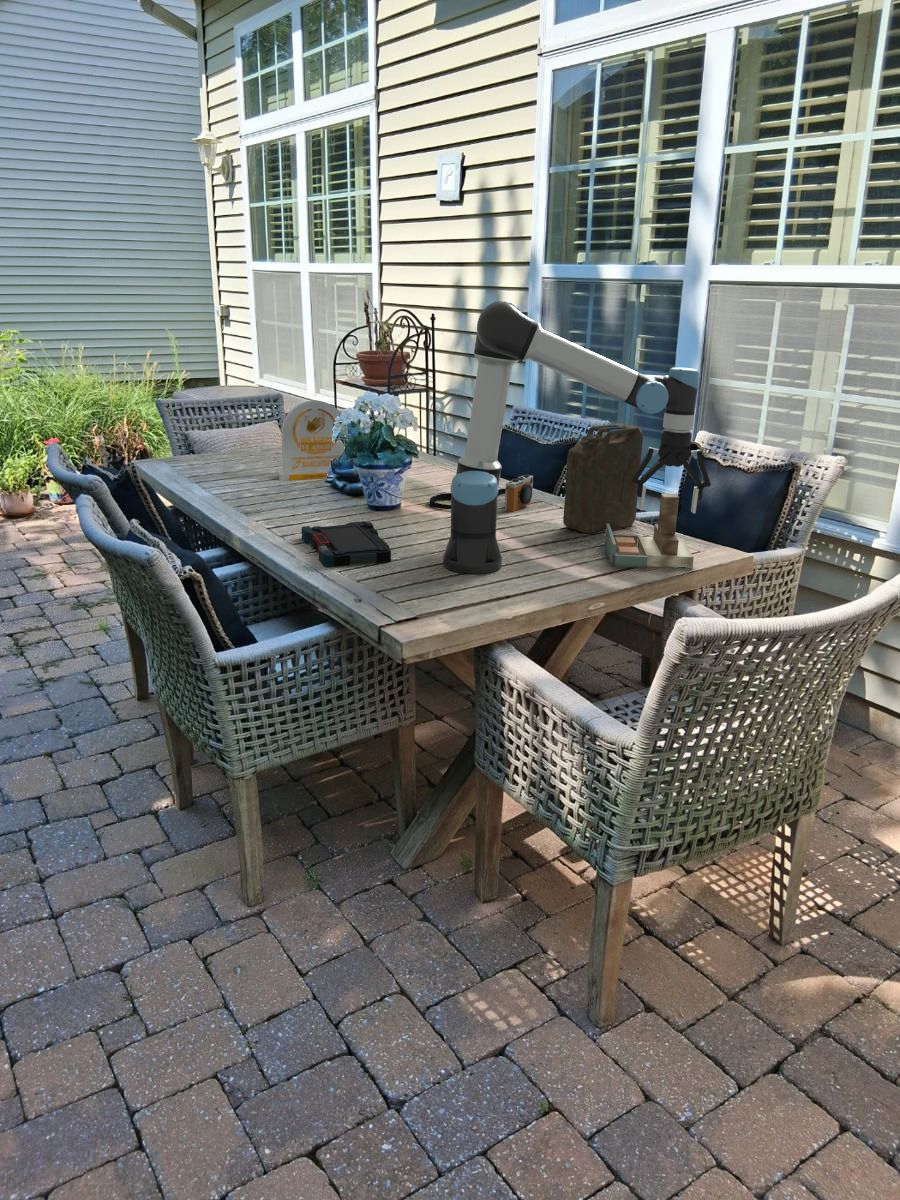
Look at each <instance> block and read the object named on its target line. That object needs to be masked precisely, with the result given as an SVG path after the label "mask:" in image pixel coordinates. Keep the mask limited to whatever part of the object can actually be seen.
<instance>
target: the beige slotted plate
mask: <svg viewBox="0 0 900 1200" xmlns="http://www.w3.org/2000/svg"><path fill="white" fill-rule="evenodd" d="M677 538H678V540H679V543H678V552H677V555H661V553H660V551H659V549H658V547H657V545H656V543H655V541H654V539H653V536H638V547H639V549H640V551H641V554H642V556H647V567H657V568H678V567H686V568H685V569H693V567H694V558H695V557H694V555H693V554H692V551H690V548H689V547H688V545H687V544H686V542H685V541H684V539H683V537H677ZM687 567H688V568H687Z"/></svg>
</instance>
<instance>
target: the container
mask: <svg viewBox="0 0 900 1200" xmlns="http://www.w3.org/2000/svg"><path fill="white" fill-rule="evenodd" d="M595 431H597V432H596V434H595V435H594V432H595ZM604 433H606V434H605V435H604V436H603V434H604ZM643 441H644V432H643V430H642V429H641V427H639V426H635V425H630V424H625V423H621V422H619V423H610V424H602V425H595V426H593V425H592V426H591V427H590V428H588V431H587V433H586V435H585V436H582V437H581V438H580V440H579V441H578V442H576V443H575V445H574V446H573V447H571V448H570V449H569V450H568V453H567V457H566V474H565V485H564V486H565V487H564V489H565V497H564V504H563V517H562V522H563V525H564V526H565V527H567V528H569V529H571V530H575V531H577V532H579V531H580V532H579V533H582V534H583V533H584V534H590V533H596V532H601V531H606V530H605V529H606V524H610V527H611V530H613V529H619V528H621V529H622V528H627V527H630V526H633V524H634V523H635V521H636V518H637V509H638V508H637V507H638V506H637V505H638V498H639V497H638V496H637V487H638V484H637V483H634V482H633V481H632V479H631V478H632V476H633V475H634V473H635V471H636V470H637V468H638V467H639V465H640V464H641V462H642V454H643V451H642V450H643V443H644V442H643Z"/></svg>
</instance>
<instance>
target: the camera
mask: <svg viewBox="0 0 900 1200" xmlns="http://www.w3.org/2000/svg"><path fill="white" fill-rule="evenodd" d="M500 478H506V479H507V478H508V479H507V482H505V488H498V494H497V498H498V497H499V496H502V495H504V497H505V498H504V511H505V512H512V513H514V512H517V511H519V510H520V509H523V508H525V507H526V506H529V505H530V504H532V503H533V487H534V486H533V485H534V475H530V474H523V475H521V476H518V475H516V476H515V475H505V474H504V475H503V474H502V475H501V474H500ZM441 501H451V492H446V493H445V492H444V493H440V494H436V495H433V496H432V497H430V499H429V502H428V503H429V504H428V505H429V507H430V508H434V509H439V510H440V509H441V510H451V504H446V503H440V502H441Z"/></svg>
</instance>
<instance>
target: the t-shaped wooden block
mask: <svg viewBox="0 0 900 1200" xmlns="http://www.w3.org/2000/svg"><path fill="white" fill-rule="evenodd" d="M679 502H680V497H679V495H678V494H677V493H663V492H662V493H661V494H660V504H659V514H658V523H655V524H654V526H653V536H652V537H653V539H654V541H655V543H656V545H657V547H658V549H659V551H660V553H661V555H677V552H678V543H679V540H678V538H679V537H677V535H676V529H677V519H678V511H679Z"/></svg>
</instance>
